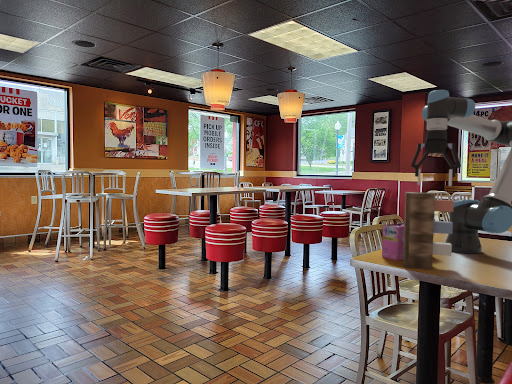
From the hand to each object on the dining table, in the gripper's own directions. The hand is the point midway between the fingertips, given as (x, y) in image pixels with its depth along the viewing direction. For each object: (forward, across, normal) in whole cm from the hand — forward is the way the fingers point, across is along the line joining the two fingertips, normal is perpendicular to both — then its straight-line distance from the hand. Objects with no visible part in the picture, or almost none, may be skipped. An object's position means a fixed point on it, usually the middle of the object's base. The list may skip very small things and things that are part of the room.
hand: (434, 185), depth 153 cm
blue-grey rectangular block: (+17, +1, -13) cm, 22 cm away
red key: (+9, +1, -13) cm, 16 cm away
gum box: (+30, -9, +4) cm, 32 cm away
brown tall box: (+30, -6, -13) cm, 33 cm away
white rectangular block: (+25, +1, -13) cm, 28 cm away
